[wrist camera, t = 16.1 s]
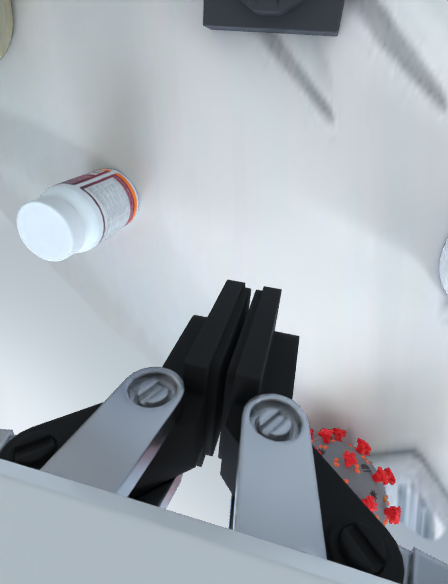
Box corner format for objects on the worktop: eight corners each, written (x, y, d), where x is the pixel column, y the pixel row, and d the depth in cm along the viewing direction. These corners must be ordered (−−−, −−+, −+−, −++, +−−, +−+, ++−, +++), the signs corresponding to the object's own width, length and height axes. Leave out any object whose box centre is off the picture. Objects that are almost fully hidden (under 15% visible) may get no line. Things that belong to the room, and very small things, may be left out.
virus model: (374, 393, 42) (394, 523, 30) (400, 476, 48) (426, 615, 35) (260, 406, 48) (236, 520, 35) (295, 479, 53) (285, 600, 41)
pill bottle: (83, 209, 40) (6, 246, 30) (94, 156, 37) (11, 180, 27) (132, 234, 40) (71, 280, 30) (147, 184, 37) (84, 217, 27)
